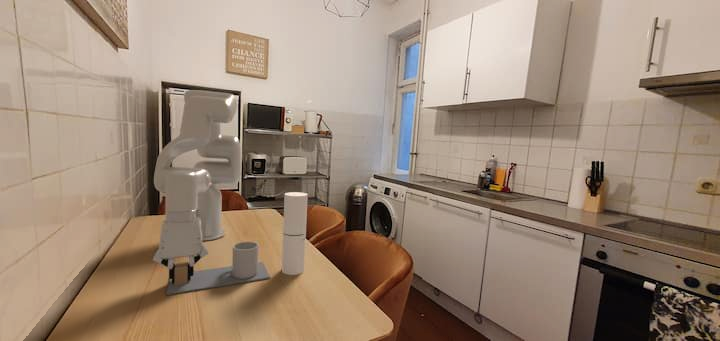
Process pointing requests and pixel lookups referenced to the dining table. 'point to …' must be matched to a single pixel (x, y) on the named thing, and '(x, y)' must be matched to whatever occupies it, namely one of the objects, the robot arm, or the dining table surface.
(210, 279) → the strip
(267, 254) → the dining table surface
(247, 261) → the cup
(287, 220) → the cylindrical container
